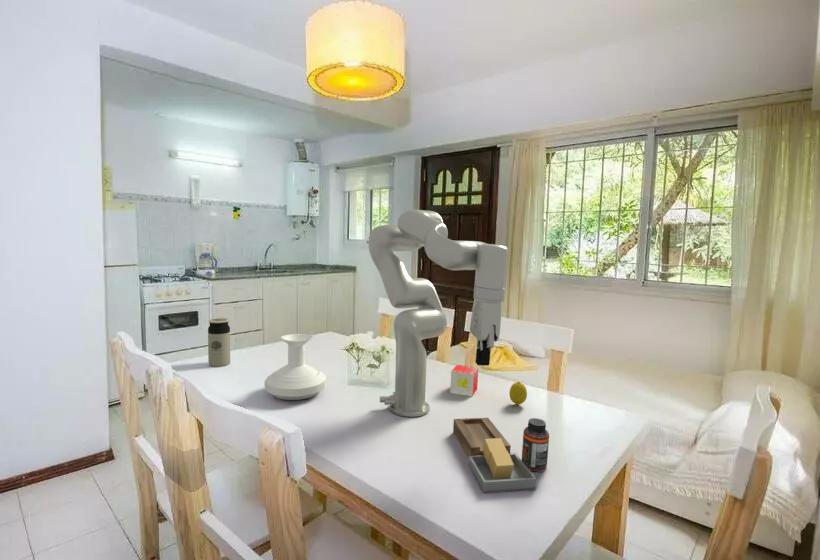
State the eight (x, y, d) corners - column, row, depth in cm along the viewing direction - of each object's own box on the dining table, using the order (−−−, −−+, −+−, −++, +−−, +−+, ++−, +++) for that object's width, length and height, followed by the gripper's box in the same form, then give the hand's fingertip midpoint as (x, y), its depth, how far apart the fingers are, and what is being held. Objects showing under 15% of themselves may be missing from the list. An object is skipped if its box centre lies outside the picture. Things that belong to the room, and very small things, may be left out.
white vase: (323, 381, 156) (323, 329, 154) (329, 402, 137) (330, 343, 135) (265, 385, 150) (265, 331, 148) (264, 407, 131) (264, 346, 129)
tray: (483, 493, 92) (483, 482, 91) (467, 465, 102) (468, 455, 102) (535, 489, 94) (536, 478, 93) (515, 462, 104) (515, 453, 104)
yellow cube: (487, 464, 100) (490, 452, 98) (482, 451, 103) (485, 438, 102) (503, 463, 101) (506, 451, 99) (498, 450, 104) (501, 438, 102)
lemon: (526, 409, 137) (528, 385, 136) (509, 407, 138) (510, 383, 137) (525, 403, 142) (527, 379, 142) (508, 401, 144) (510, 378, 143)
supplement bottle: (517, 459, 106) (520, 415, 105) (541, 459, 106) (544, 415, 105) (526, 473, 100) (529, 426, 99) (550, 472, 101) (554, 426, 99)
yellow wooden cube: (488, 464, 100) (493, 478, 96) (491, 451, 98) (496, 466, 95) (504, 463, 101) (510, 477, 97) (507, 450, 99) (513, 464, 95)
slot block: (470, 463, 103) (471, 447, 103) (453, 432, 119) (453, 418, 119) (509, 461, 105) (510, 445, 105) (487, 431, 121) (488, 417, 120)
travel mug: (216, 360, 176) (215, 317, 174) (234, 361, 175) (233, 318, 173) (204, 366, 168) (203, 321, 166) (223, 367, 167) (222, 322, 165)
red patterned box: (450, 392, 149) (451, 371, 148) (455, 385, 157) (456, 364, 156) (472, 396, 147) (473, 374, 146) (477, 389, 154) (478, 367, 153)
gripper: (466, 288, 113) (460, 354, 116) (483, 299, 99) (476, 375, 101) (493, 289, 114) (486, 355, 117) (514, 300, 100) (506, 375, 103)
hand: (482, 364), depth 109 cm, fingers closed
